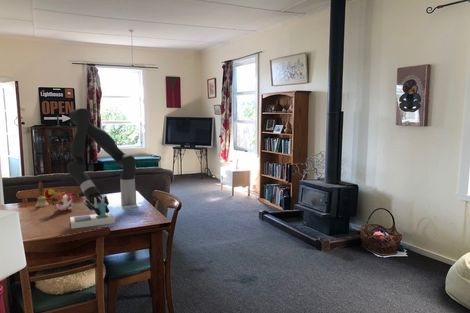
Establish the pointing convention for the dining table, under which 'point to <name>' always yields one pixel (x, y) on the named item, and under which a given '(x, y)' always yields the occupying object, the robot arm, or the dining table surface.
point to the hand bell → (41, 197)
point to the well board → (93, 221)
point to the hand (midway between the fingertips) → (103, 213)
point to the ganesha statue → (59, 199)
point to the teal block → (102, 210)
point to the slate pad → (82, 218)
